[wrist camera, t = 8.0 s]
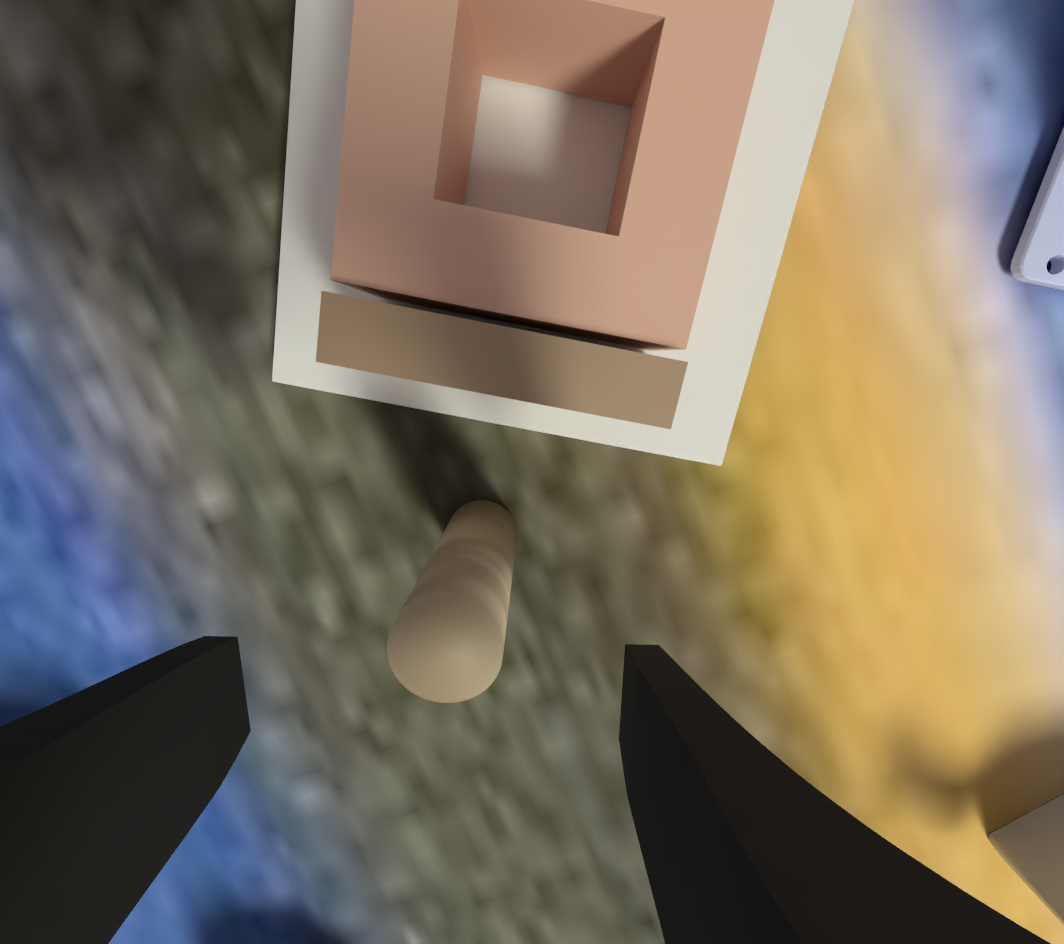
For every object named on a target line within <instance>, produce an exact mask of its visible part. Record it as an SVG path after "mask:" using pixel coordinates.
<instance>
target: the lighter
mask: <svg viewBox="0 0 1064 944" xmlns="http://www.w3.org/2000/svg"><path fill="white" fill-rule="evenodd" d="M988 839H989V841H990V842H991V843H992V845H993V846H994V847H995V849H996V850H997V851H998V853H999V854H1000V855H1001V857H1002V858H1003V859H1004V861H1005V862H1006V863H1007V864H1008V865H1009V866H1010V867H1011V868H1012V869H1013V870H1014V871H1015V872H1016V874H1017V875H1018V876H1019V877H1020V878H1021V879H1022V880H1023V881H1024V882H1025V883H1026V884H1027V885H1028V887H1029V888H1030V889H1031V890H1032V891H1033V892H1034V893H1035V894H1036V895H1037V896H1038V897H1039V898H1040V900H1041V901H1042V902H1043V903H1044V904H1045V905H1046V906H1047V907H1048V908H1049V909H1050V910H1051V912H1052V913H1053V914H1054V915H1055V916H1056V917H1057V918H1058V919H1059V920H1060V921H1061V922H1062V923H1063V925H1064V794H1063V795H1061V796H1059V797H1057V798H1055V799H1053V800H1051V801H1050V802H1048V803H1046V804H1044V805H1042V806H1040V807H1038V808H1037V809H1035V810H1033V811H1031V812H1029V813H1027V814H1025V815H1024V816H1022V817H1020V818H1018V819H1016V820H1014V821H1012V822H1011V823H1009V824H1007V825H1005V826H1003V827H1001V828H999V829H998V830H996V831H994V832H992V833H990V834H989V837H988Z"/></svg>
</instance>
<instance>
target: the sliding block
mask: <svg viewBox="0 0 1064 944" xmlns="http://www.w3.org/2000/svg"><path fill="white" fill-rule="evenodd" d="M774 1H775V0H354V12H353V24H352V35H351V47H350V59H349V70H348V82H347V93H346V105H345V117H344V128H343V140H342V152H341V163H340V175H339V186H338V198H337V210H336V221H335V233H334V245H333V256H332V268H331V279H330V280H332V281H335V282H338V283H341V284H343V285H346V286H349V287H352V288H354V289H357V290H360V291H363V292H365V293H368V294H371V295H374V296H376V297H379V298H383V299H388V300H393V301H398V302H404V303H409V304H414V305H419V306H424V307H429V308H434V309H439V310H445V311H450V312H455V313H460V314H465V315H470V316H475V317H480V318H486V319H491V320H496V321H501V322H506V323H511V324H516V325H522V326H527V327H532V328H537V329H542V330H547V331H552V332H557V333H563V334H568V335H573V336H578V337H583V338H588V339H593V340H598V341H604V342H609V343H614V344H619V345H624V346H629V347H634V348H640V349H645V350H650V351H657V350H681V349H686V348H687V344H688V340H689V336H690V332H691V328H692V324H693V320H694V316H695V312H696V308H697V304H698V300H699V296H700V292H701V288H702V285H703V281H704V277H705V273H706V269H707V265H708V261H709V257H710V253H711V249H712V245H713V241H714V237H715V233H716V229H717V225H718V221H719V217H720V214H721V210H722V206H723V202H724V198H725V194H726V190H727V186H728V182H729V178H730V174H731V170H732V166H733V162H734V158H735V154H736V150H737V147H738V143H739V139H740V135H741V131H742V127H743V123H744V119H745V115H746V111H747V107H748V103H749V99H750V95H751V91H752V87H753V83H754V80H755V76H756V72H757V68H758V64H759V60H760V56H761V52H762V48H763V44H764V40H765V36H766V32H767V28H768V24H769V20H770V16H771V12H772V9H773V5H774ZM482 75H486V76H490V77H495V78H500V79H505V80H509V81H514V82H519V83H524V84H528V85H533V86H538V87H543V88H547V89H552V90H557V91H562V92H566V93H571V94H576V95H581V96H585V97H590V98H595V99H600V100H604V101H609V102H614V103H619V104H623V105H628V106H632V108H631V113H630V118H629V123H628V128H627V132H626V137H625V142H624V147H623V152H622V157H621V162H620V167H619V171H618V176H617V181H616V186H615V191H614V196H613V201H612V205H611V210H610V215H609V220H608V225H607V230H606V234H604V233H599V232H594V231H589V230H584V229H579V228H575V227H570V226H565V225H560V224H555V223H550V222H545V221H540V220H535V219H530V218H525V217H520V216H515V215H510V214H505V213H500V212H495V211H490V210H485V209H480V208H475V207H470V206H465V205H464V202H465V195H466V188H467V181H468V174H469V167H470V160H471V153H472V146H473V139H474V132H475V125H476V118H477V110H478V103H479V96H480V89H481V82H482Z"/></svg>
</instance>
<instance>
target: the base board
mask: <svg viewBox="0 0 1064 944" xmlns="http://www.w3.org/2000/svg"><path fill="white" fill-rule="evenodd" d="M853 3H854V0H775V1H774V5H773V9H772V12H771V16H770V20H769V24H768V28H767V32H766V36H765V40H764V44H763V48H762V52H761V56H760V60H759V64H758V68H757V72H756V76H755V80H754V83H753V87H752V91H751V95H750V99H749V103H748V107H747V111H746V115H745V119H744V123H743V127H742V131H741V135H740V139H739V143H738V147H737V150H736V154H735V158H734V162H733V166H732V170H731V174H730V178H729V182H728V186H727V190H726V194H725V198H724V202H723V206H722V210H721V214H720V217H719V221H718V225H717V229H716V233H715V237H714V241H713V245H712V249H711V253H710V257H709V261H708V265H707V269H706V273H705V277H704V281H703V285H702V288H701V292H700V296H699V300H698V304H697V308H696V312H695V316H694V320H693V324H692V328H691V332H690V336H689V340H688V344H687V348H686V349H681V350H657V351H650V350H645V349H640V348H634V347H629V346H624V345H619V344H614V343H609V342H604V341H598V340H593V339H588V338H583V337H578V336H573V335H568V334H563V333H557V332H552V331H547V330H542V329H537V328H532V327H527V326H522V325H516V324H511V323H506V322H501V321H496V320H491V319H486V318H480V317H475V316H470V315H465V314H460V313H455V312H450V311H445V310H439V309H434V308H429V307H424V306H419V305H414V304H409V303H404V302H398V301H393V300H388V299H383V298H379V297H376V296H374V295H371V294H368V293H365V292H363V291H360V290H357V289H354V288H352V287H349V286H346V285H343V284H341V283H338V282H335V281H332V280H330V279H331V268H332V256H333V245H334V233H335V221H336V210H337V198H338V186H339V175H340V163H341V152H342V140H343V128H344V117H345V105H346V93H347V82H348V70H349V59H350V47H351V35H352V24H353V12H354V0H296V8H295V24H294V40H293V56H292V72H291V88H290V104H289V120H288V136H287V152H286V168H285V184H284V200H283V216H282V232H281V248H280V263H279V279H278V295H277V311H276V327H275V343H274V359H273V375H272V381H273V382H278V383H284V384H289V385H294V386H300V387H305V388H310V389H316V390H321V391H326V392H331V393H337V394H342V395H347V396H353V397H358V398H363V399H369V400H374V401H379V402H385V403H390V404H395V405H400V406H406V407H411V408H416V409H422V410H427V411H432V412H438V413H443V414H448V415H454V416H459V417H464V418H469V419H475V420H480V421H485V422H491V423H496V424H501V425H507V426H512V427H517V428H523V429H528V430H533V431H538V432H544V433H549V434H554V435H560V436H565V437H570V438H576V439H581V440H586V441H592V442H597V443H602V444H607V445H613V446H618V447H623V448H629V449H634V450H639V451H645V452H650V453H655V454H661V455H666V456H671V457H676V458H682V459H687V460H692V461H698V462H703V463H708V464H714V465H719V466H721V465H722V462H723V458H724V455H725V451H726V448H727V444H728V441H729V437H730V434H731V430H732V427H733V423H734V420H735V416H736V413H737V409H738V406H739V402H740V399H741V395H742V392H743V388H744V385H745V381H746V378H747V374H748V371H749V367H750V364H751V360H752V357H753V353H754V350H755V346H756V343H757V339H758V336H759V332H760V329H761V325H762V322H763V318H764V315H765V311H766V308H767V304H768V301H769V297H770V294H771V290H772V287H773V283H774V280H775V276H776V273H777V269H778V266H779V262H780V259H781V255H782V252H783V248H784V245H785V241H786V238H787V234H788V231H789V227H790V224H791V220H792V217H793V213H794V210H795V206H796V203H797V199H798V196H799V192H800V189H801V185H802V182H803V178H804V175H805V171H806V168H807V164H808V161H809V157H810V154H811V150H812V147H813V143H814V140H815V136H816V133H817V129H818V126H819V122H820V119H821V115H822V112H823V108H824V105H825V101H826V98H827V94H828V91H829V87H830V84H831V80H832V77H833V73H834V70H835V66H836V63H837V59H838V56H839V52H840V49H841V45H842V42H843V38H844V35H845V31H846V28H847V24H848V21H849V17H850V14H851V10H852V7H853ZM631 108H632V106H628V105H623V104H619V103H614V102H609V101H604V100H600V99H595V98H590V97H585V96H581V95H576V94H571V93H566V92H562V91H557V90H552V89H547V88H543V87H538V86H533V85H528V84H524V83H519V82H514V81H509V80H505V79H500V78H495V77H490V76H486V75H482V82H481V89H480V96H479V103H478V110H477V118H476V125H475V132H474V139H473V146H472V153H471V160H470V167H469V174H468V181H467V188H466V195H465V202H464V205H465V206H470V207H475V208H480V209H485V210H490V211H495V212H500V213H505V214H510V215H515V216H520V217H525V218H530V219H535V220H540V221H545V222H550V223H555V224H560V225H565V226H570V227H575V228H579V229H584V230H589V231H594V232H599V233H604V234H606V230H607V225H608V220H609V215H610V210H611V205H612V201H613V196H614V191H615V186H616V181H617V176H618V171H619V167H620V162H621V157H622V152H623V147H624V142H625V137H626V132H627V128H628V123H629V118H630V113H631Z"/></svg>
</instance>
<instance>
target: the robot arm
mask: <svg viewBox="0 0 1064 944" xmlns="http://www.w3.org/2000/svg"><path fill="white" fill-rule="evenodd" d="M1049 260H1050V261H1051V264H1052V265H1051V270H1050V271H1049V273H1048V271H1047V263H1048V261H1049ZM1010 268H1011V274H1012V275H1013V276H1014V278H1015V279H1017V280H1019V281H1022V282H1027V283H1031V284H1036V285H1041V286H1046V287H1051V288H1056V289H1061V290H1064V127H1063V130H1062V132H1061V135H1060V137H1059V140H1058V143H1057V145H1056V148H1055V150H1054V153H1053V155H1052V158H1051V161H1050V163H1049V166H1048V168H1047V171H1046V174H1045V176H1044V179H1043V181H1042V184H1041V186H1040V189H1039V192H1038V194H1037V197H1036V199H1035V202H1034V204H1033V207H1032V210H1031V212H1030V215H1029V217H1028V220H1027V222H1026V225H1025V228H1024V230H1023V233H1022V235H1021V238H1020V240H1019V243H1018V246H1017V248H1016V251H1015V253H1014V256H1013V258H1012V262H1011V267H1010ZM249 733H250V724H249V716H248V709H247V702H246V695H245V688H244V680H243V673H242V666H241V659H240V652H239V644H238V637H218V636H204V637H202V638H199V639H196V640H193V641H190V642H188V643H185V644H183V645H180V646H178V647H176V648H173V649H171V650H169V651H166V652H164V653H162V654H160V655H157V656H155V657H153V658H151V659H149V660H146V661H144V662H142V663H140V664H138V665H136V666H133V667H131V668H129V669H127V670H125V671H123V672H120V673H118V674H116V675H114V676H112V677H110V678H107V679H105V680H103V681H101V682H99V683H97V684H95V685H92V686H90V687H88V688H86V689H84V690H82V691H79V692H77V693H75V694H73V695H71V696H69V697H67V698H64V699H62V700H60V701H58V702H56V703H54V704H51V705H49V706H47V707H44V708H42V709H40V710H38V711H35V712H33V713H31V714H29V715H26V716H24V717H22V718H19V719H17V720H15V721H13V722H10V723H8V724H6V725H4V726H1V727H0V944H108V943H109V942H110V940H111V939H112V937H113V936H114V935H115V933H116V932H117V930H118V929H119V928H120V926H121V925H122V924H123V922H124V921H125V919H126V918H127V917H128V915H129V914H130V912H131V911H132V910H133V908H134V907H135V905H136V904H137V903H138V901H139V900H140V898H141V897H142V896H143V894H144V893H145V892H146V890H147V889H148V887H149V886H150V885H151V883H152V882H153V880H154V879H155V878H156V876H157V875H158V873H159V872H160V871H161V869H162V868H163V867H164V865H165V864H166V862H167V861H168V860H169V858H170V857H171V855H172V854H173V853H174V851H175V850H176V848H177V847H178V846H179V844H180V843H181V842H182V840H183V839H184V837H185V836H186V835H187V833H188V832H189V830H190V829H191V827H192V826H193V825H194V823H195V822H196V820H197V819H198V818H199V816H200V815H201V813H202V812H203V810H204V809H205V808H206V806H207V805H208V803H209V802H210V800H211V799H212V798H213V796H214V795H215V793H216V792H217V790H218V789H219V787H220V786H221V784H222V782H223V780H224V779H225V777H226V775H227V773H228V772H229V770H230V768H231V766H232V765H233V763H234V761H235V759H236V757H237V756H238V754H239V752H240V750H241V748H242V746H243V744H244V742H245V740H246V739H247V737H248V735H249ZM619 742H620V749H621V756H622V763H623V770H624V776H625V783H626V789H627V796H628V800H629V804H630V808H631V812H632V816H633V820H634V824H635V828H636V832H637V836H638V840H639V844H640V848H641V851H642V855H643V859H644V863H645V867H646V871H647V875H648V878H649V882H650V886H651V890H652V894H653V898H654V901H655V905H656V909H657V913H658V917H659V921H660V925H661V928H662V932H663V936H664V940H665V944H1050V943H1049V942H1047V941H1045V940H1043V939H1042V938H1040V937H1038V936H1037V935H1035V934H1033V933H1031V932H1030V931H1028V930H1026V929H1025V928H1023V927H1021V926H1019V925H1018V924H1016V923H1015V922H1013V921H1011V920H1010V919H1008V918H1006V917H1005V916H1003V915H1002V914H1000V913H998V912H997V911H995V910H993V909H992V908H990V907H989V906H987V905H985V904H984V903H982V902H980V901H979V900H977V899H976V898H974V897H972V896H971V895H969V894H968V893H966V892H964V891H963V890H961V889H960V888H958V887H957V886H955V885H954V884H952V883H951V882H949V881H947V880H946V879H944V878H943V877H941V876H940V875H938V874H937V873H935V872H934V871H932V870H931V869H929V868H928V867H926V866H925V865H923V864H922V863H920V862H919V861H917V860H916V859H914V858H912V857H911V856H909V855H908V854H906V853H905V852H903V851H902V850H900V849H899V848H897V847H896V846H894V845H893V844H892V843H890V842H889V841H887V840H886V839H884V838H883V837H881V836H880V835H879V834H877V833H876V832H874V831H873V830H871V829H870V828H869V827H867V826H866V825H864V824H863V823H862V822H860V821H859V820H858V819H856V818H855V817H853V816H852V815H851V814H849V813H848V812H847V811H845V810H844V809H843V808H841V807H840V806H839V805H837V804H836V803H835V802H833V801H832V800H831V799H829V798H828V797H827V796H825V795H824V794H823V793H821V792H820V791H819V790H817V789H816V788H815V787H813V786H812V785H811V784H810V783H808V782H807V781H806V780H804V779H803V778H802V777H801V776H799V775H798V774H797V773H796V772H794V771H793V770H792V769H791V768H789V767H788V766H787V765H786V764H785V763H784V762H782V761H781V760H780V759H779V758H778V757H777V756H775V755H774V754H773V753H772V752H771V751H769V750H768V749H767V748H766V747H765V746H764V745H762V744H761V743H760V742H759V741H758V740H756V739H755V738H754V737H753V736H752V735H751V734H750V733H749V732H748V731H746V730H745V729H744V728H743V727H742V726H741V725H740V724H739V723H738V722H736V721H735V720H734V719H733V718H732V717H731V716H730V715H729V714H728V713H727V712H726V711H725V710H724V709H723V708H721V707H720V706H719V705H718V704H717V703H716V702H715V701H714V700H713V699H712V698H711V697H710V696H709V695H708V694H707V693H706V692H705V691H704V690H703V689H702V688H701V687H700V686H699V685H698V684H697V683H696V682H695V681H694V680H693V679H692V678H691V677H690V676H689V675H688V674H687V673H686V672H685V671H684V670H683V669H682V668H681V667H680V666H679V665H678V664H677V663H676V662H675V661H674V660H673V659H672V658H671V657H670V656H669V655H668V654H667V653H666V652H665V651H664V650H663V649H662V648H661V647H660V646H659V645H629V644H625V656H624V671H623V687H622V702H621V717H620V732H619Z"/></svg>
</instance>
